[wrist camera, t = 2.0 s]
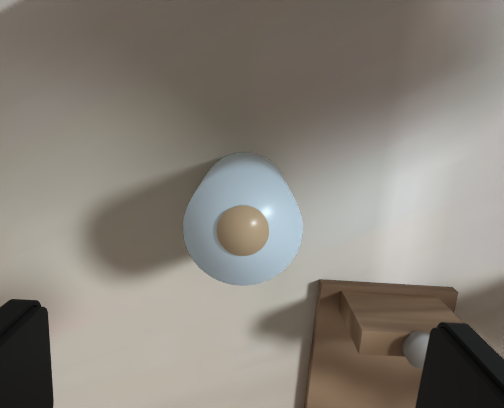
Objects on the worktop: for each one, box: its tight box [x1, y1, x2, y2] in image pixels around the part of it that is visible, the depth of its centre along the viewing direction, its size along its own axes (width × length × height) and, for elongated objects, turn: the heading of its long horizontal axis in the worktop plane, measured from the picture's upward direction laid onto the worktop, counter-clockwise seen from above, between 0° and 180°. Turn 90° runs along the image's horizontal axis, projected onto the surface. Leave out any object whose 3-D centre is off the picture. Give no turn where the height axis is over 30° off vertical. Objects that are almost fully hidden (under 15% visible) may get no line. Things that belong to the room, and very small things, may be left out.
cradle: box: [304, 280, 463, 408], centre depth 27 cm, size 14×10×7 cm
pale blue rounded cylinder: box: [183, 152, 303, 285], centre depth 23 cm, size 6×6×8 cm
